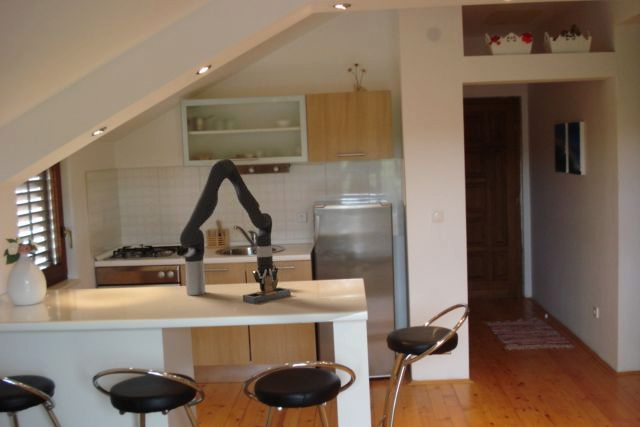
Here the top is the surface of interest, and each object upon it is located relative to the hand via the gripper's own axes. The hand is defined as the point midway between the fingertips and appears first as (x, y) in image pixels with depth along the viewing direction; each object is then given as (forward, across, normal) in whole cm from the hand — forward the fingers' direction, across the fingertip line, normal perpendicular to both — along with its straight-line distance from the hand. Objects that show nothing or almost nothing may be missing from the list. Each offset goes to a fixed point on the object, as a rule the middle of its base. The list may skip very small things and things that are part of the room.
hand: (266, 289), depth 340 cm
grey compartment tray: (+4, 0, 0) cm, 4 cm away
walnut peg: (+3, 0, 0) cm, 3 cm away
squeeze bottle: (+4, -14, -16) cm, 22 cm away
